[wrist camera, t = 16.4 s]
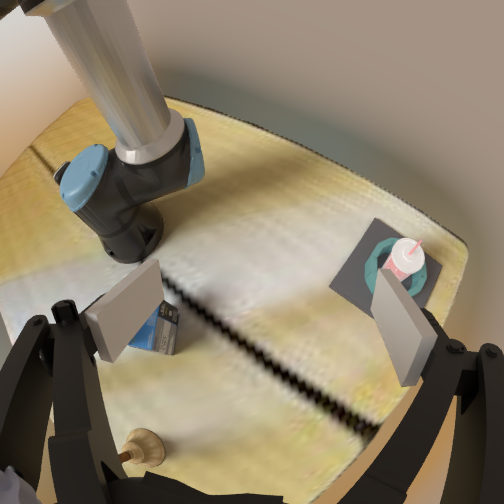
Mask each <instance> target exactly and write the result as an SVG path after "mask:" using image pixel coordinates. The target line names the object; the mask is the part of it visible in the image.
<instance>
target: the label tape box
mask: <svg viewBox="0 0 504 504" xmlns="http://www.w3.org/2000/svg"><path fill="white" fill-rule="evenodd" d="M179 312H180V310H178V309H177V308H175V307H174V306H172V305H171V304H169V303H168V302H166V301H165V300H163V301H162V302H161V304H160V305H159V306H158V307H157V308H156V310H155V311H154V312H153V313H152V315H151V316H150V317H149V318H148V319H147V321H146V322H145V323H144V324H143V326H142V327H141V328H140V329H139V331H138V332H137V333H136V334H135V336H134V337H133V338H132V339H131V341H130V342H129V343H128V345H129V346H131V347H135V348H139V349H143V350H147V351H151V352H155V353H160V354H166V355H173V352H174V345H175V338H176V331H177V324H178V318H179Z"/></svg>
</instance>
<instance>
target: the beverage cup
mask: <svg viewBox="0 0 504 504" xmlns="http://www.w3.org/2000/svg"><path fill="white" fill-rule="evenodd" d="M422 242H423V239H420V240H419V242H418V243H417V242H416V241H415V240H412V239H410V238H402V239H400V240H398V241H397V242H396V243H395V244H394V246H393V248H392V252H391V254H390V255H389V257H388V258H387V260H386V262H385V263H384V265H383V266H382V269H391V271H392V272H393V273H394V274H395V276H396V277H397V278H398V280H399V281H400V282H401V281H403V280H404V279H406V278H407V277H408V276H410V275H411V274H414V273H415V272H417V271H419V270H420V269H421V268H422V266H423V265H424V260H425V256H424V251H423V250H422V248H421V246H420V244H421V243H422Z"/></svg>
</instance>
